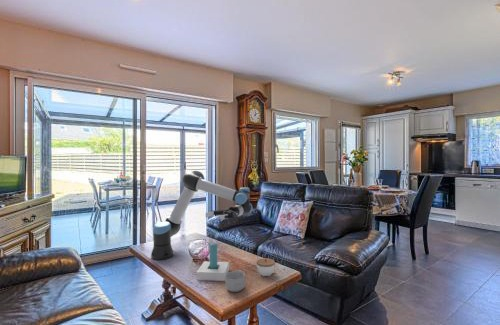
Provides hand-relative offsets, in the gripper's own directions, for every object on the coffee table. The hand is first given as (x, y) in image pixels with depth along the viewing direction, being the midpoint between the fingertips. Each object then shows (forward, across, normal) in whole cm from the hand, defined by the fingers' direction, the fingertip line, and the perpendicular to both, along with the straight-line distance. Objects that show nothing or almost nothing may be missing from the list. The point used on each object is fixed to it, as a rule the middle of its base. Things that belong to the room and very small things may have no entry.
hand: (212, 216), depth 174 cm
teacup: (+12, -32, -32) cm, 47 cm away
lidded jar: (-11, -34, -32) cm, 48 cm away
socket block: (+8, -9, -32) cm, 34 cm away
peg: (+8, -9, -32) cm, 34 cm away
